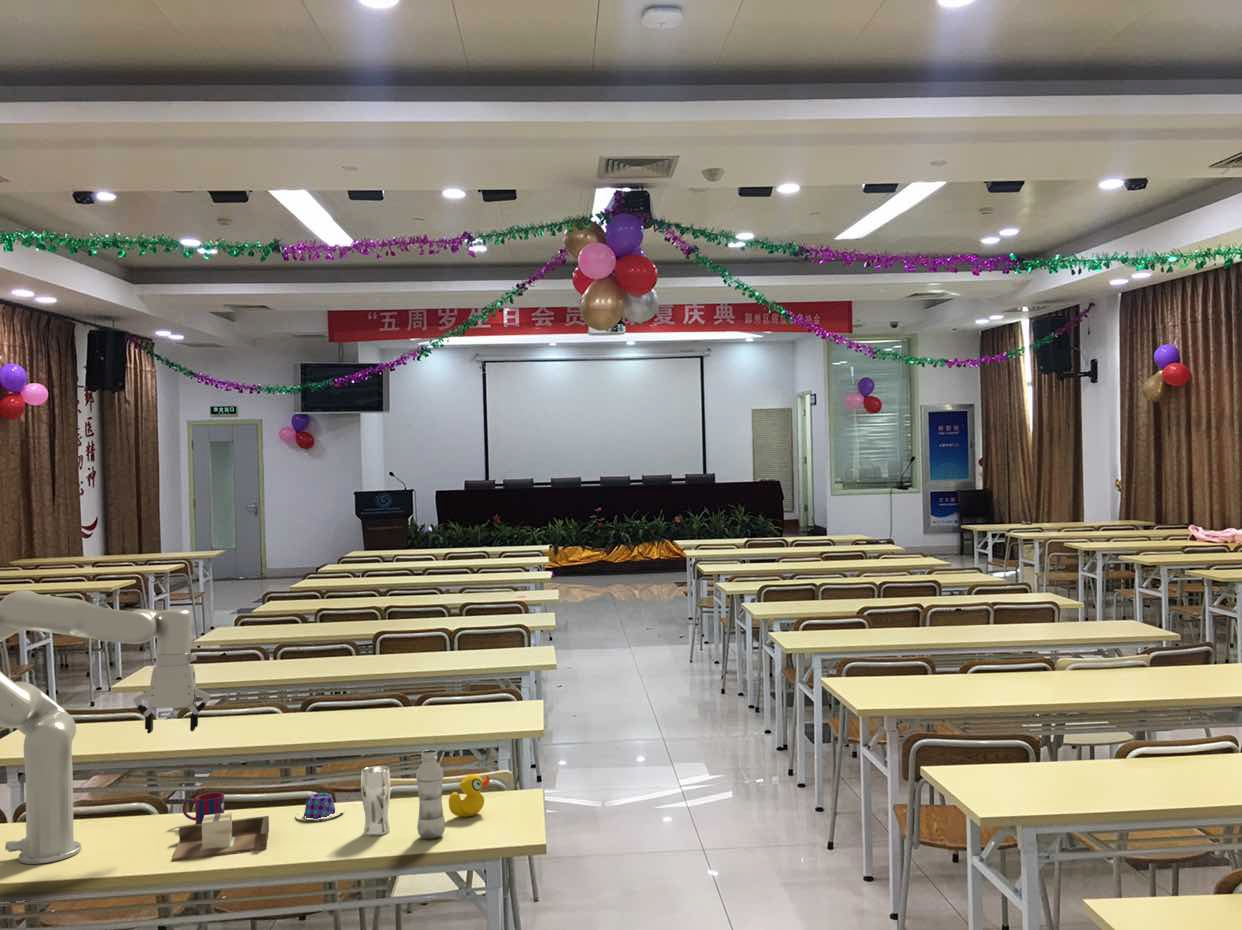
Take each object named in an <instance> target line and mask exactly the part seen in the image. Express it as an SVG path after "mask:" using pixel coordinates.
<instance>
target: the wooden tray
mask: <svg viewBox="0 0 1242 930" xmlns="http://www.w3.org/2000/svg"><path fill="white" fill-rule="evenodd" d="M269 816H270V815H265V816H256V817H247V818H240V819H232V840H231V844H230V846H224V847H216V848H208V849H202V824H196V823H195V824H190V825H189V824H188V825H187V824H186V825H181V826H179V832H178V833H179V838H178V839H179V841H178V843H177V846H176V849H175V851H174V853H173V856H172V858H171V859H172V862H176V860H178V861H183V860H182V859H185V860H193V859H200V858H206V857H214V856H215V857H217V856H223V855H222V854H225V855H229V853H232V854H239V853H238V852H240V853H246V852H247V851H248V852H254V851H255V852H256V851H262V849H264V850H267V849H268V848H267V847H268V842H267V841H268V840H269V834H268V833H270V821H269V820H270V817H269ZM216 855H217V856H216ZM185 860H184V861H185Z"/></svg>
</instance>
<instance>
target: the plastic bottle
mask: <svg viewBox="0 0 1242 930" xmlns="http://www.w3.org/2000/svg"><path fill="white" fill-rule="evenodd" d="M420 760H421V764H420V765H419V767H418V769H417V770H416V774H415V779H416V780H415V781H416V786H417V790H418V791H417V792H418V801H419V803H418V804H419V806H418V819H417V828H416V829H417V832H418V833H417V834H418V836H419V837H420V838H422V839H426V840H427V839H428V840H429V839H430V840H431V839H436V838H439V837H442V836H443V834H444V833H445V829H446V820H445V816H444V809H443V803H442V801H443V797H442V796H443V782H444V770H443V769H442V767H441V765H440V764H439V762H438V761H437V760H438V751H437V750H436V749H427V750H426V749H425V750H423V751H421V759H420Z"/></svg>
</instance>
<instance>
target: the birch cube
mask: <svg viewBox="0 0 1242 930" xmlns="http://www.w3.org/2000/svg"><path fill="white" fill-rule="evenodd" d="M232 817H233V813H232V812H224V813H217V814H212V815H204V818H203V821H202V849H208V848H216V847H224V846H230V844H231V840H232V820H233V818H232Z"/></svg>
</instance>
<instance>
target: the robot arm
mask: <svg viewBox="0 0 1242 930" xmlns="http://www.w3.org/2000/svg"><path fill="white" fill-rule="evenodd" d="M22 630H23V631H31V632H41V633H49V634H58V635H64V636H72V637H78V638H85V639H92V640H99V641H103V642H104V641H105V642H114V643H120V644H130V645H138V644H139V645H140V644H144V643H146V642H148V641H150V640H151V639H155V638H156V663H155V664H156V665H154V666H153V669H152V672H151V677H150V683H149V690H147V691H145V692H143V693H141V694H139V695H138V696H136V697H134V698H133V699H132V700H133V704H134V705H135V706H136V708H137V710H138V711H139V712H140V713H141V714H142V715H143V717H145V718H144V730H146V733H147V734H151V733H152V732H153V731H154V715H153V712H154V711H155V709H174V708H175V709H179V708H180V709H182V708H188V709H189V711H190V712H191V714H190V724H189V725H190V726H189V731H190V732H194V731H195V730H196V728H198V726H199V713H200V712H201V711H202V710H203V709H204V708H205V707H206V706H207V704H208V702H209V701H210V699H211V694H209V693H208V692H205V691H203V690H201V689H198V688H197V685H196V684H197V683H196V673H195V672H196V671H195V666H194V664H193V663H192V664H191V662H193V661H197V654H192V653H191V639H192V638H191V635H192V634H191V632H192V614H191V612H190V610H188V609H184V608H176V609H175V608H173V609H170V608H169V609H164V610H163V609H162V610H158V609H157V610H156V609H149V608H148V609H147V608H146V609H145V608H139V609H135V610H132V611H129V610H122V609H114V608H107V607H103V606H98V605H96V604H93V603H90V602H88V601H86V600H83V599H78V598H69V597H61V596H53V595H45V594H39V593H36V592H35V591H32V590H30V589H29V590H28V589H27V590H26V589H21V590H17V591H14V592H11V593H9V594H7V595H6V596H4V598H2V599H1V600H0V643H1V642H3V641H5V640H6V639H8V638H10V637H11V636H14V635H16V634H17V633H19V632H20V631H22ZM197 696H198V697H199V698H202V701H201V702H200V704H198V705H197V704H196V703H195V702H196V700H197V698H196V697H197ZM146 698H148V706H149V707H146V706H145V704H143V702H142V701H143V700H144V699H146ZM0 727H1V728H4V729H17V730H18V731H19V732H21V733H22V734H23V735H25V737H24V740H23V759H24V771H25V772H24V773H25V777H24V778H25V828H26V829H25V833H26V834H25V835H26V836H25V838H21V840H9V841H6V842H5V851H8V853H13V852H17V851H19V852H20V853H19V854H18V861H19V863H22V864H27V865H38V864H39V865H40V864H46V863H53V862H58V861H61V860H64V859H67V858H70V857H73V856H75V855H76V854H79V853H80V851H81V850H82V844H81V843H80V842H78V841H75V840H74V781H73V780H74V779H73V776H74V775H73V757H72V756H73V751H72V747H73V745H72V744H73V740H74V739H75V736H76V734H77V733H76V732H77V725H76V722H75V719H74V718H73V717H72V715H71V714H70V713H68V711H66V710H65V709H64V708H63V707H62V706H60V705H59V704H58V703H57V702H55V701H54V699H52V698H50V696H49V695H48V694H46V693H44V692H43V691H42V690H41V689H40V688H38V687H37V686H36V685H34V684H32V683H30V682H26V681H13V680H11V678H9V677H8V676H7V675H6V674H4V673H3V672H2V671H1V670H0Z"/></svg>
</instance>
